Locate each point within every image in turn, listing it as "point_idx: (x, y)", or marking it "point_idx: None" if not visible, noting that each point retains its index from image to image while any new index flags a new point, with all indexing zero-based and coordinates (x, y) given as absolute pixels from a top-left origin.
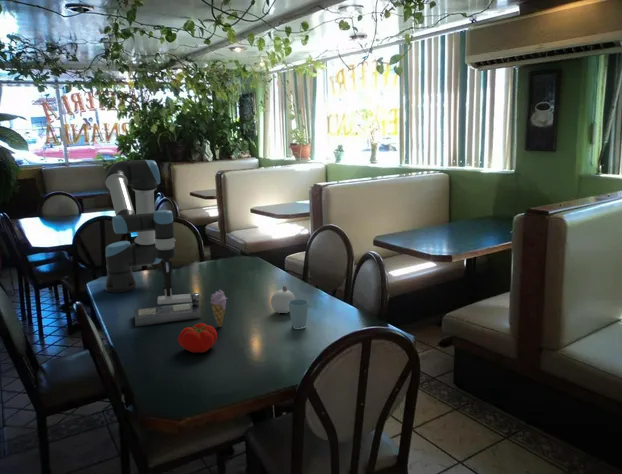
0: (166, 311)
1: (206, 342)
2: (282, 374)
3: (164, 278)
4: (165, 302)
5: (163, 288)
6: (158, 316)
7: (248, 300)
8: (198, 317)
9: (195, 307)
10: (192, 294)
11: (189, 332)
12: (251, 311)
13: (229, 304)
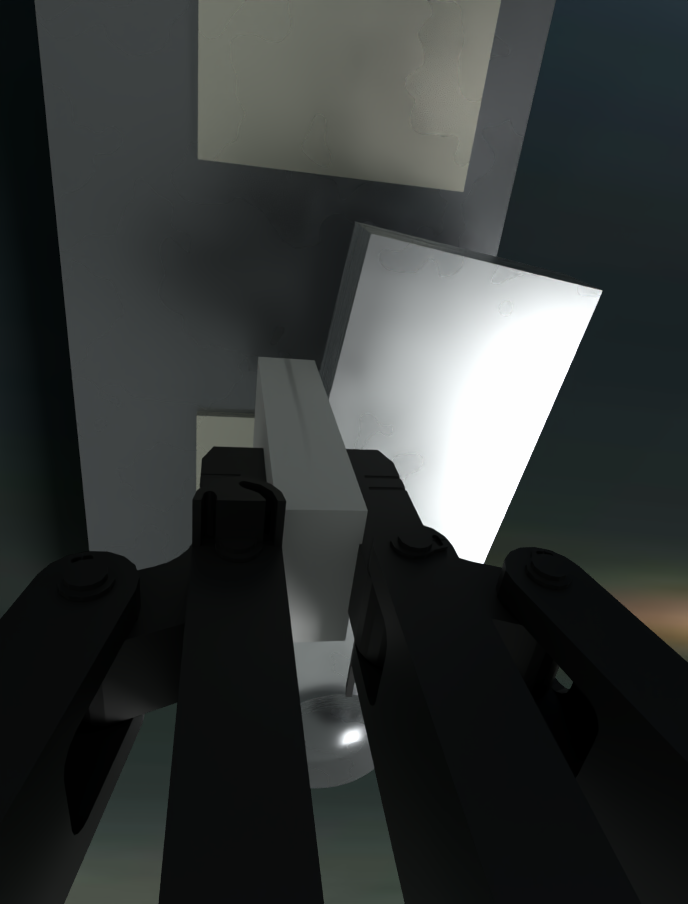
0: (238, 319)
1: None
2: None
3: (237, 856)
4: (311, 362)
5: (197, 497)
6: (52, 166)
7: (375, 872)
8: None
9: None
10: (340, 726)
11: None
12: (133, 882)
13: (359, 788)
